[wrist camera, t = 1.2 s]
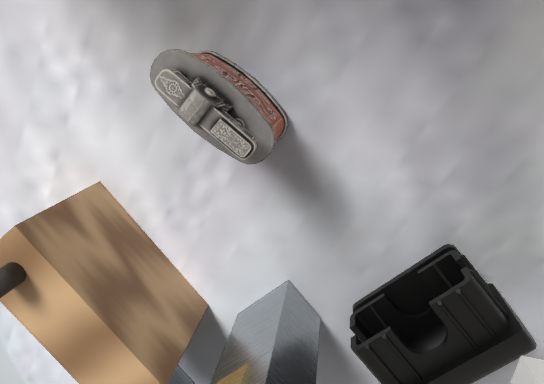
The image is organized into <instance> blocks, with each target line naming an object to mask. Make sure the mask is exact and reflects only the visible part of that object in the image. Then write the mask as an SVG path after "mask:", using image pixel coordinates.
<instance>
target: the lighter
mask: <svg viewBox="0 0 544 384" xmlns="http://www.w3.org/2000/svg"><path fill="white" fill-rule="evenodd" d="M150 77H151V83H152V85H153V87H154V88H155V90H156V91H157V92H158V93H159V95H160V96H161V97H162V98H163V99H164V101H165V102H166V103H167V104H168V105H169V107H170V108H171V109H172V110H173V111H174V112H175V113H176V114H177V115H178V116H179V117H180V118H181V119H182V120H183V121H184V122H185V123H186V124H187V125H188V126H189V127H190V128H191V129H192V130H193V131H194V132H196V133H197V134H198V135H200V136H201V137H203V138H204V139H205V140H207V141H208V142H209V143H211V144H212V145H213V146H215V147H216V148H217V149H219V150H221V151H223V152H224V153H226V154H228V155H230V156H231V157H233V158H235V159H237V160H238V161H240V162H242V163H245V164H256V163H258V162H261V161H263V160H264V159H265V158H266V157H267V156H268V155H269V154H270V152H271V151H272V149H273V147H274V145H275V141H277V140H278V139H280V138H281V137H282V136H283V134H284V133H285V131H286V129H287V126H288V117H287V115H286V113H285V111H284V110H283V109H282V107H281V106H280V105H279V104H278V102H277V101H276V100H275V99H274V97H273V96H272V95H271V94H270V93H269V92H268V91H267V90H266V89H265V88H264V87H263V86H262V85H261V84H260V83H259V82H258V81H257V80H256V79H255V78H254V77H253V76H251V75H250V74H249V73H247V72H246V71H245V70H243V69H242V68H241V67H239V66H238V65H237V64H235V63H234V62H232V61H230V60H228V59H227V58H225V57H223V56H221V55H220V54H218V53H216V52H213V51H202V52H200V53H198V54H195V53H188V52H186V51H183V50H180V49H173V50H166V51H164V52H162V53H160V54H159V56H158V57H157V58H156V59H155V60H154V62H153V64H152V66H151V72H150Z"/></svg>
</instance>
